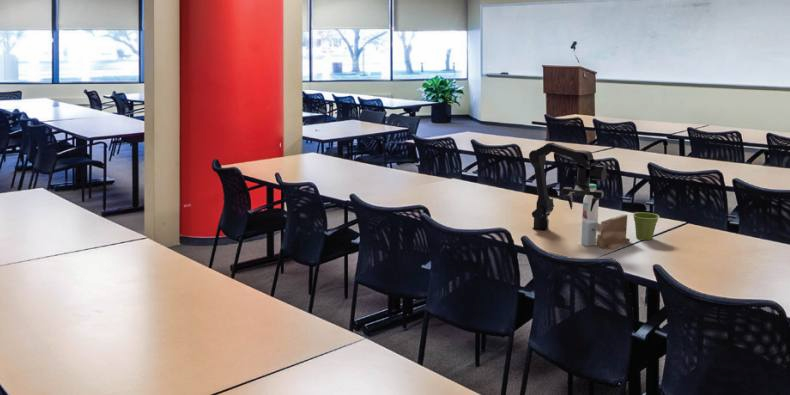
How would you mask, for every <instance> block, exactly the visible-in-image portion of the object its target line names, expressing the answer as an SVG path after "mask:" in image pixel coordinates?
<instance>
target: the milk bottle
mask: <svg viewBox="0 0 790 395" xmlns="http://www.w3.org/2000/svg"><path fill="white" fill-rule="evenodd" d="M589 187H590V191H592V192H594V191H595V190H597V184H595V183H589ZM592 198H593V196H592V195H585V196H584V197H583V201H582V213H581V214H582V216H581V219H582V220H581V223H582V222H585V221H594V222H597V223H598V222H599V207H600V206H599V201H600V199H599V200H597V201H596V202H595V205H594V207H593V209H592V211H591V212H590V209H591V203H592Z"/></svg>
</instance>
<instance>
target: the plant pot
mask: <svg viewBox="0 0 790 395" xmlns="http://www.w3.org/2000/svg"><path fill="white" fill-rule="evenodd" d="M632 216H633V220H634V225H635V226H634V228H635V237H636V239H638V240H640V241H641V240H643V241H647V240H648V241H651V240H653V238H654V233H655V229H656V226H657V223H658V220H659V219H660V215H659V214H657V213H652V212H640V211H639V212H634V213H633V214H632Z"/></svg>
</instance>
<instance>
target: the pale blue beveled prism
mask: <svg viewBox="0 0 790 395" xmlns="http://www.w3.org/2000/svg"><path fill="white" fill-rule="evenodd" d="M581 223H582V224H581V239H580V240H581V241H580V242H581V243H580V244H581V245H583V246H586V247H591V246H595V245H596V246H597V244H596V238H597V229H598V228H597V227H598V226H597V225H598V222H594V221H585V222H582V221H581Z"/></svg>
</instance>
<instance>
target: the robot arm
mask: <svg viewBox="0 0 790 395" xmlns="http://www.w3.org/2000/svg"><path fill="white" fill-rule="evenodd" d="M551 153H554V154H557V155H560V156H563V157H566V158H570V159H571V160H572V161H574V162H575V163H576V164H575V165H573V168H574V169H577V176H576V178H577V179H576V184H575V187H574V189H573V187H571V186H569V187H568V186H565V187H563V188H562V189H561V192H560V194H561V195H563V196H564V197H566V199H567V201H568V205H569V208H570V210H572V209H573V195H574V197H583V198H584V197H585V195H592V196H593V198H592V203H591V209H590V212H591V211H592V209H593V207H594V205H595V202H596V201H597V200H599V201H600V199H602V198H604V194H605V193H604V191H603V190H602V189H601V190H599V189H596V190H595V191H594V192H592V191H590V187H589V184H590V183H591V182H590V180H593V181H600V182H605V180H606V179H607V176H608V171H607V169H606V166H605V165H598V164H597V162H596V160H595V158H594V155H593V153H592V152H591V151H589V150H580V149H574V148H570V147H567V146H563V145H561V144H557V143H555V142H548V143H545V145H543V146H541V147H539V148H537V149H533V150H531V151H530V152H529V153H528V158H529V162H530V164H531V165H532V167H533V169H534V177H535V184H536V190H537V196H538V197H537V200H536V204H535V206H536V208H535V210H533V211H532V212H531V216H532V218H533V227H532V230H538V231H547V230H548V229H549V227H550V220H549V216H550V215H551V213H552V212H553V211H554V207H555V204H554V199H553V198H551V197H550V196H549V194H548V193H549V192H548V187H547V180H546V179H547V177H546V173H545V172H546V170H545V164H546V162H547V156H548V155H550V154H551Z"/></svg>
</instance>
